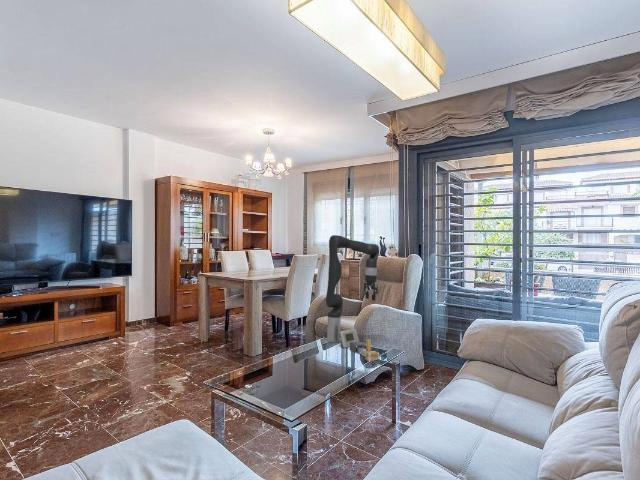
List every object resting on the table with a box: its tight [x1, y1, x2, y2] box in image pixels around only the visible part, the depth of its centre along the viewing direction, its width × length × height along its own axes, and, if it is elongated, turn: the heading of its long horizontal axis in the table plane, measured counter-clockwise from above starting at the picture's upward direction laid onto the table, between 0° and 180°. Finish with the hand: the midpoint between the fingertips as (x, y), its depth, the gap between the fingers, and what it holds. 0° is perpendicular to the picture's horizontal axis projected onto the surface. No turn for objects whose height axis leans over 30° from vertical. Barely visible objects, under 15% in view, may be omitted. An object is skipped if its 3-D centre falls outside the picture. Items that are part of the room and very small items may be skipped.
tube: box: [356, 339, 372, 357], centre depth 221 cm, size 18×3×10 cm, turn 21°
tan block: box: [364, 350, 380, 362], centre depth 212 cm, size 5×7×4 cm
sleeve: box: [349, 341, 365, 353], centre depth 231 cm, size 7×6×5 cm
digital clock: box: [339, 328, 360, 349], centre depth 243 cm, size 16×9×11 cm, turn 124°
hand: (370, 299), depth 233 cm, fingers open, 8 cm apart
